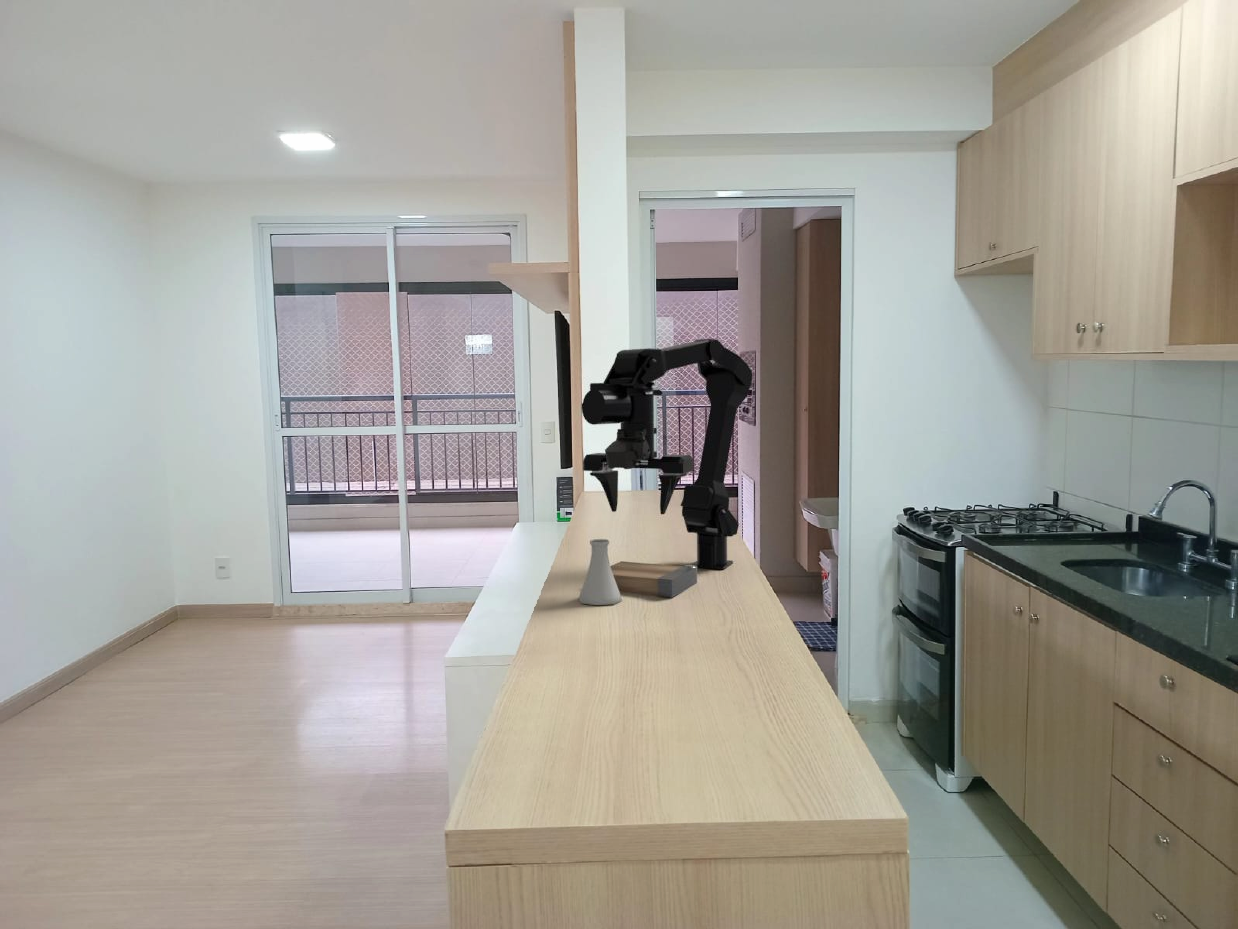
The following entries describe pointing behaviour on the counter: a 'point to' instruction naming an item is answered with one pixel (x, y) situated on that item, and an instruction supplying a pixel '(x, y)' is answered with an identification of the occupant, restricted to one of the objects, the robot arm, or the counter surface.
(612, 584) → the flask
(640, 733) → the counter surface
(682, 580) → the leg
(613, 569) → the tan square panel
